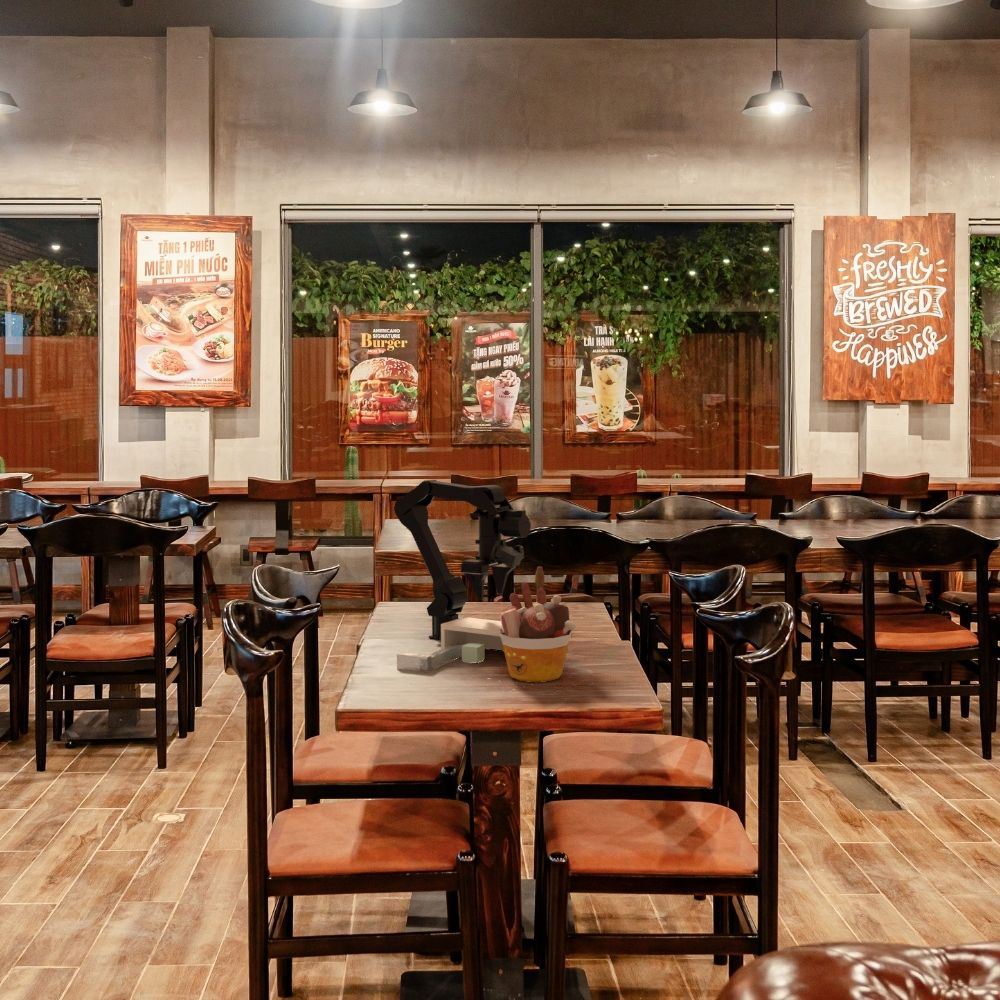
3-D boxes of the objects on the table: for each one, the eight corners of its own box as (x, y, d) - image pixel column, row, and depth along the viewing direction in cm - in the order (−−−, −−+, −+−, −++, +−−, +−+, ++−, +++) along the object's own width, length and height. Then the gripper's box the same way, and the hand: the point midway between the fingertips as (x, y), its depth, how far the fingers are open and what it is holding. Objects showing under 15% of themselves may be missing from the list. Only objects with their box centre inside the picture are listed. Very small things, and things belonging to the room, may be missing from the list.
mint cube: (462, 662, 271) (461, 646, 271) (469, 659, 275) (469, 642, 275) (477, 664, 270) (477, 647, 269) (484, 660, 273) (484, 644, 273)
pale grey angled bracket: (396, 669, 265) (396, 654, 265) (434, 653, 281) (433, 639, 281) (446, 674, 260) (446, 659, 259) (481, 658, 276) (481, 643, 275)
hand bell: (557, 622, 319) (557, 565, 317) (549, 627, 311) (549, 569, 310) (529, 620, 322) (529, 563, 320) (520, 626, 314) (520, 568, 312)
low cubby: (441, 653, 281) (440, 624, 280) (465, 645, 290) (464, 617, 289) (511, 662, 270) (510, 632, 270) (533, 654, 279) (533, 625, 279)
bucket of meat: (582, 685, 249) (582, 594, 247) (507, 689, 246) (506, 597, 244) (560, 664, 268) (560, 580, 267) (490, 668, 265) (490, 582, 264)
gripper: (497, 541, 277) (497, 605, 278) (536, 533, 293) (536, 594, 294) (459, 538, 283) (459, 601, 284) (499, 531, 299) (499, 590, 300)
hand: (490, 596), depth 291 cm, fingers open, 9 cm apart
